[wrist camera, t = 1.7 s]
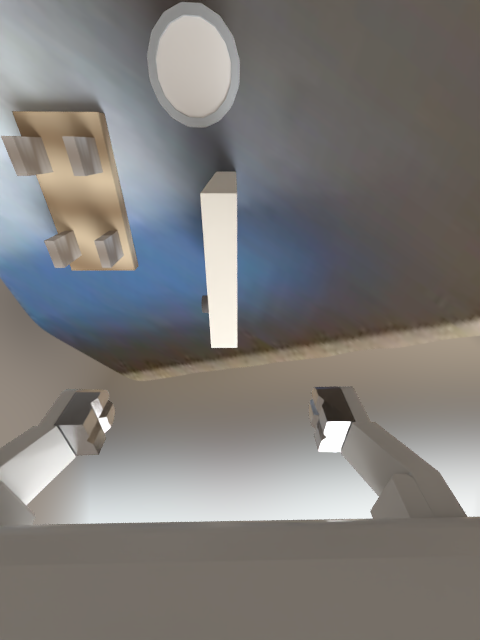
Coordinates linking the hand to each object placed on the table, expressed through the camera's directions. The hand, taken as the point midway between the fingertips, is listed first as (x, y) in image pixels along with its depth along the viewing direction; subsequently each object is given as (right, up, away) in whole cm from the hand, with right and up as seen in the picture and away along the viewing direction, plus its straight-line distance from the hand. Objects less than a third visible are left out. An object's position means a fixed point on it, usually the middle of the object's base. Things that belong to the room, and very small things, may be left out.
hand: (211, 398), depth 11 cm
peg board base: (-16, +17, +20) cm, 31 cm away
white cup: (-2, +26, +15) cm, 30 cm away
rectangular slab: (0, +15, +22) cm, 26 cm away
